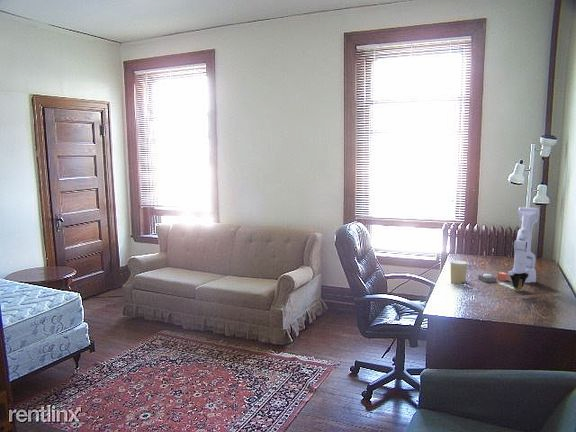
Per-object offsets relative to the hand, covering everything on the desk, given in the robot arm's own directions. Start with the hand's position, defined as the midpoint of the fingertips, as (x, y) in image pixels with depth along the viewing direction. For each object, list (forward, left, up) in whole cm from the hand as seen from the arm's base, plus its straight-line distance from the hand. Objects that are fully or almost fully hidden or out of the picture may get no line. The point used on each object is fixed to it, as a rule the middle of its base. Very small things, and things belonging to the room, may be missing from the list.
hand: (518, 286), depth 240 cm
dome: (+4, -20, -1) cm, 20 cm away
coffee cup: (+20, -24, -3) cm, 31 cm away
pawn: (0, 0, -1) cm, 1 cm away
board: (+1, -10, -3) cm, 11 cm away
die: (-6, -19, -2) cm, 20 cm away
